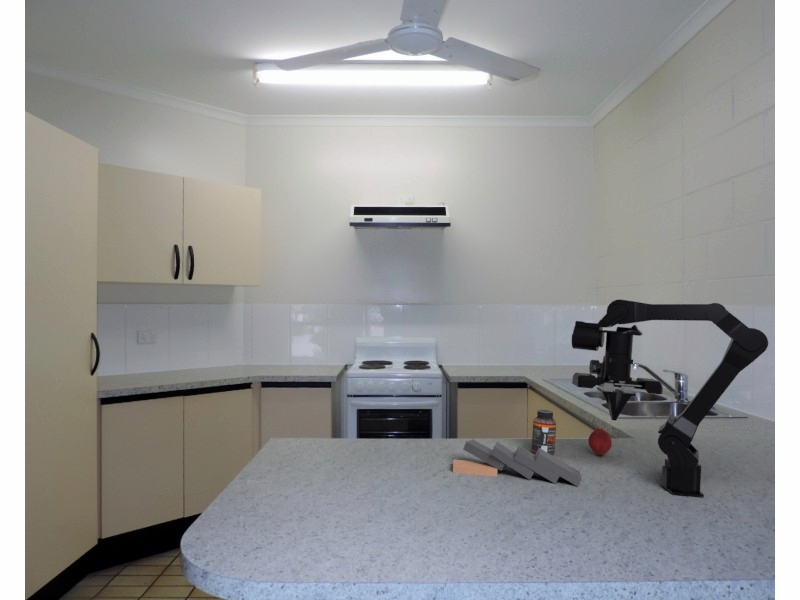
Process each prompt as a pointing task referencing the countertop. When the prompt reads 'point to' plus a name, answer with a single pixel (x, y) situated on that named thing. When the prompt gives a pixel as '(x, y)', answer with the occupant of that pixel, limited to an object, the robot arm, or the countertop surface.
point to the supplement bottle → (544, 432)
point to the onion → (600, 441)
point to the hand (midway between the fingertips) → (613, 420)
